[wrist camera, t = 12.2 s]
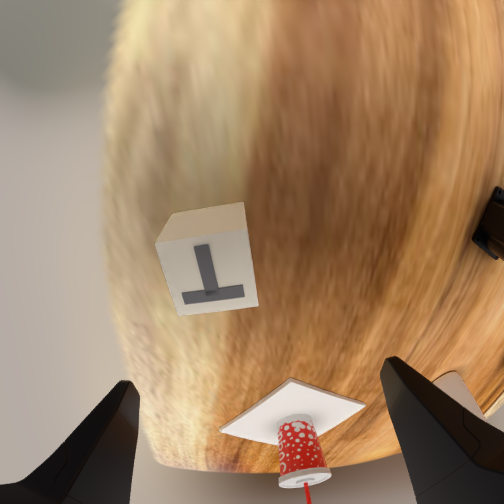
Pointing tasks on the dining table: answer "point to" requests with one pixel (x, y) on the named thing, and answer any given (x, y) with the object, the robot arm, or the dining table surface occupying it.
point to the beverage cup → (300, 454)
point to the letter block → (208, 260)
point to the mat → (291, 411)
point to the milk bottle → (459, 392)
